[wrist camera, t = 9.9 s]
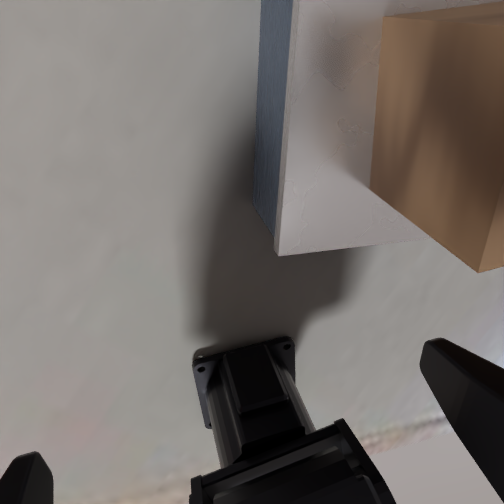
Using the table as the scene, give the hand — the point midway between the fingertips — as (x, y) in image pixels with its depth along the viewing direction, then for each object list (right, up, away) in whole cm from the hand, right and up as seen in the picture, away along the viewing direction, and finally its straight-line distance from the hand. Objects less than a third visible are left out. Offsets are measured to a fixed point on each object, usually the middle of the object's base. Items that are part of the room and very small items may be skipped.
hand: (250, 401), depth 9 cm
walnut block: (+7, +9, +6) cm, 13 cm away
